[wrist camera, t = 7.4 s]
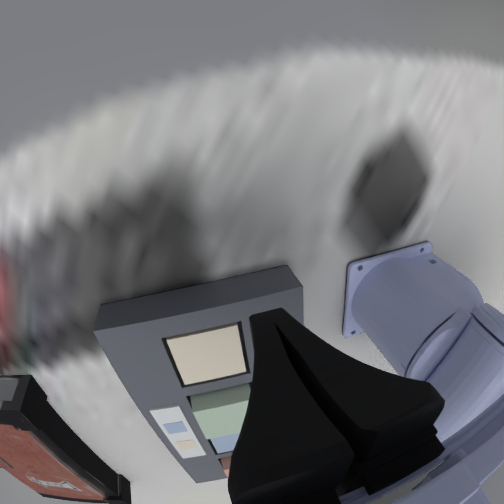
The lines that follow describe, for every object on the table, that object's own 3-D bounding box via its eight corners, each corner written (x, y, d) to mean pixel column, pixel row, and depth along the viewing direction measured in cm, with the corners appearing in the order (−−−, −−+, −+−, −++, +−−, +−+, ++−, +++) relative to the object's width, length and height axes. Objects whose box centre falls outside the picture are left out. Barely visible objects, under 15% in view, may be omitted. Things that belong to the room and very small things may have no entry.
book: (-59, 371, 18) (-72, 399, 14) (32, 371, 21) (20, 410, 17) (42, 475, 30) (40, 498, 26) (129, 479, 33) (131, 506, 29)
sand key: (231, 306, 21) (237, 325, 20) (240, 353, 24) (246, 371, 22) (165, 320, 21) (166, 340, 19) (182, 365, 23) (184, 384, 21)
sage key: (247, 379, 23) (253, 398, 21) (253, 409, 25) (259, 427, 23) (189, 392, 22) (192, 412, 20) (202, 421, 24) (206, 439, 23)
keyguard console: (287, 264, 22) (304, 288, 19) (293, 441, 35) (301, 460, 32) (100, 305, 20) (92, 333, 17) (193, 464, 33) (196, 484, 30)
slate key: (251, 407, 27) (256, 423, 26) (256, 428, 30) (261, 443, 28) (204, 417, 27) (208, 434, 25) (214, 438, 29) (217, 453, 27)
